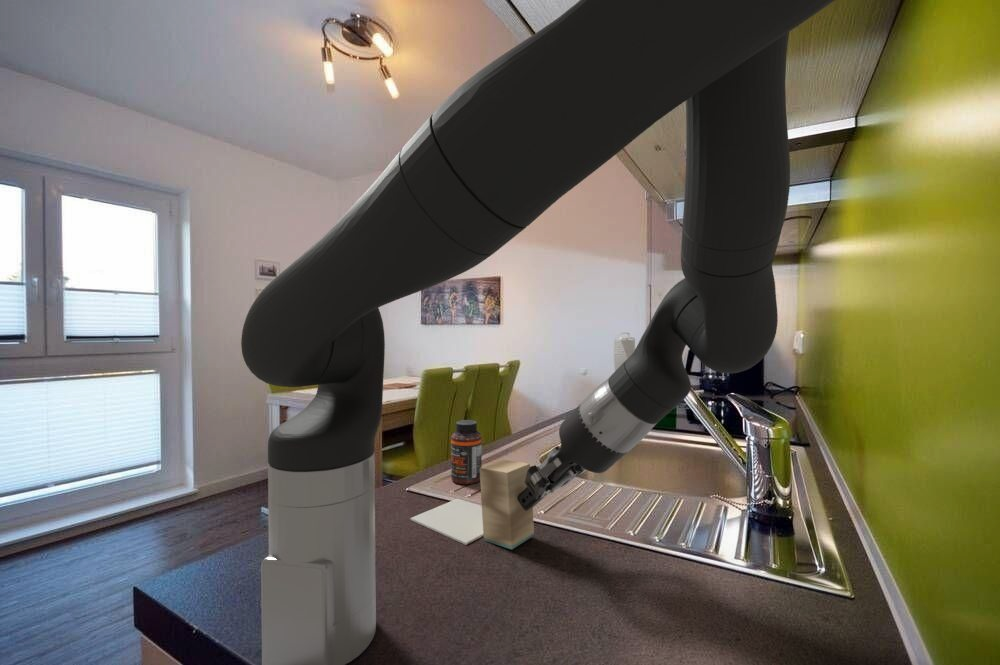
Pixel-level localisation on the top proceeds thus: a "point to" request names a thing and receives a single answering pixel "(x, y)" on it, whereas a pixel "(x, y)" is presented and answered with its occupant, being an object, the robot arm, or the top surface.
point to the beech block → (505, 504)
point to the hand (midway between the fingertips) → (524, 502)
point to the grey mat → (454, 520)
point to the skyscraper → (622, 349)
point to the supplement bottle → (466, 453)
